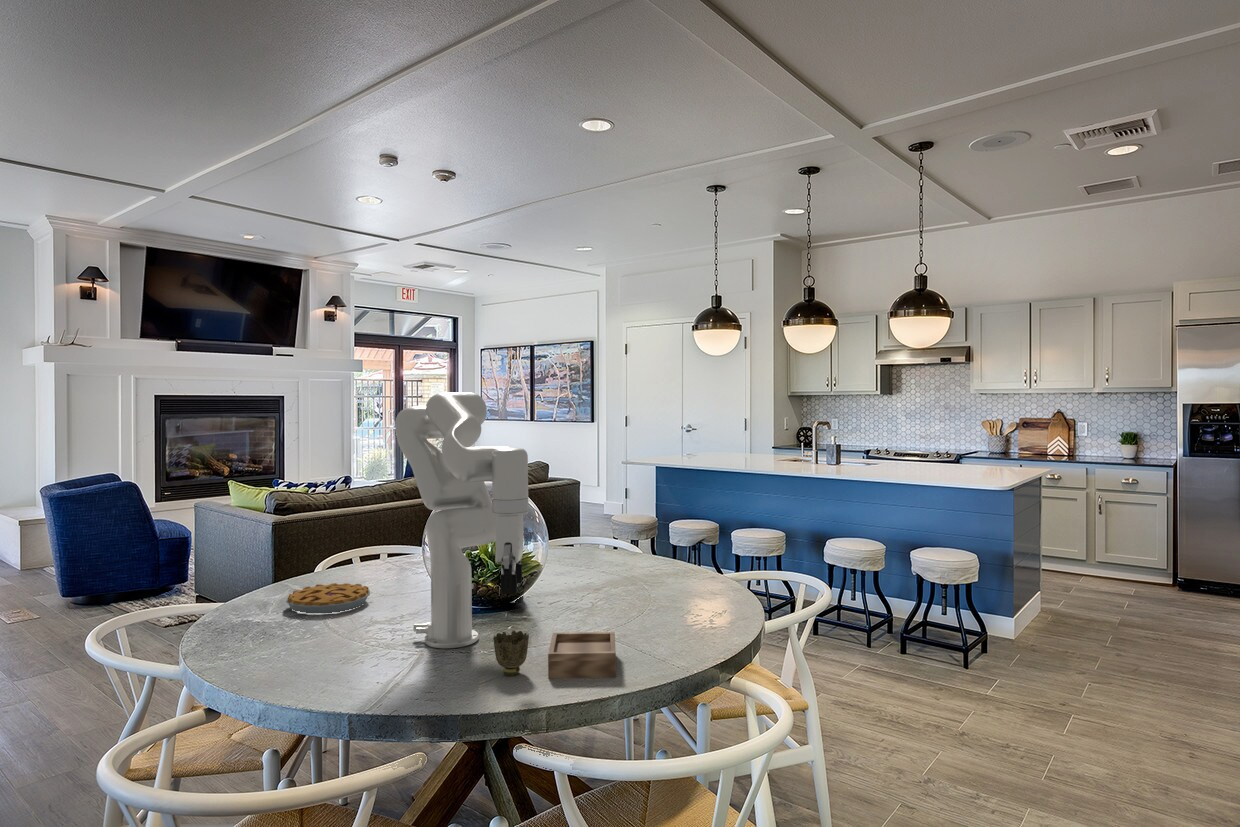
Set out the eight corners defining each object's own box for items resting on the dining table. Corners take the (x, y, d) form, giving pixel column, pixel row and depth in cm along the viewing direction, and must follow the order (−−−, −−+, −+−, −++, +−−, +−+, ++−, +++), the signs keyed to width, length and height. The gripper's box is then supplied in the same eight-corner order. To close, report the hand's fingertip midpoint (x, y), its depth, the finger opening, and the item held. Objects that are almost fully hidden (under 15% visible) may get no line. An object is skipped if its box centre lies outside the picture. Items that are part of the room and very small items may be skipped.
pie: (268, 615, 200) (268, 596, 199) (319, 594, 221) (319, 578, 221) (339, 620, 194) (339, 601, 194) (385, 599, 216) (384, 582, 216)
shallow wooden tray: (548, 680, 152) (548, 653, 152) (552, 656, 166) (552, 632, 166) (615, 679, 152) (615, 653, 152) (614, 656, 166) (614, 632, 166)
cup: (495, 681, 150) (495, 642, 150) (491, 669, 158) (491, 631, 157) (531, 677, 152) (531, 639, 152) (526, 665, 160) (526, 628, 159)
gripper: (498, 502, 163) (499, 579, 163) (486, 512, 146) (487, 599, 146) (532, 501, 163) (533, 578, 163) (524, 512, 146) (525, 598, 146)
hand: (511, 588), depth 154 cm, fingers open, 9 cm apart
